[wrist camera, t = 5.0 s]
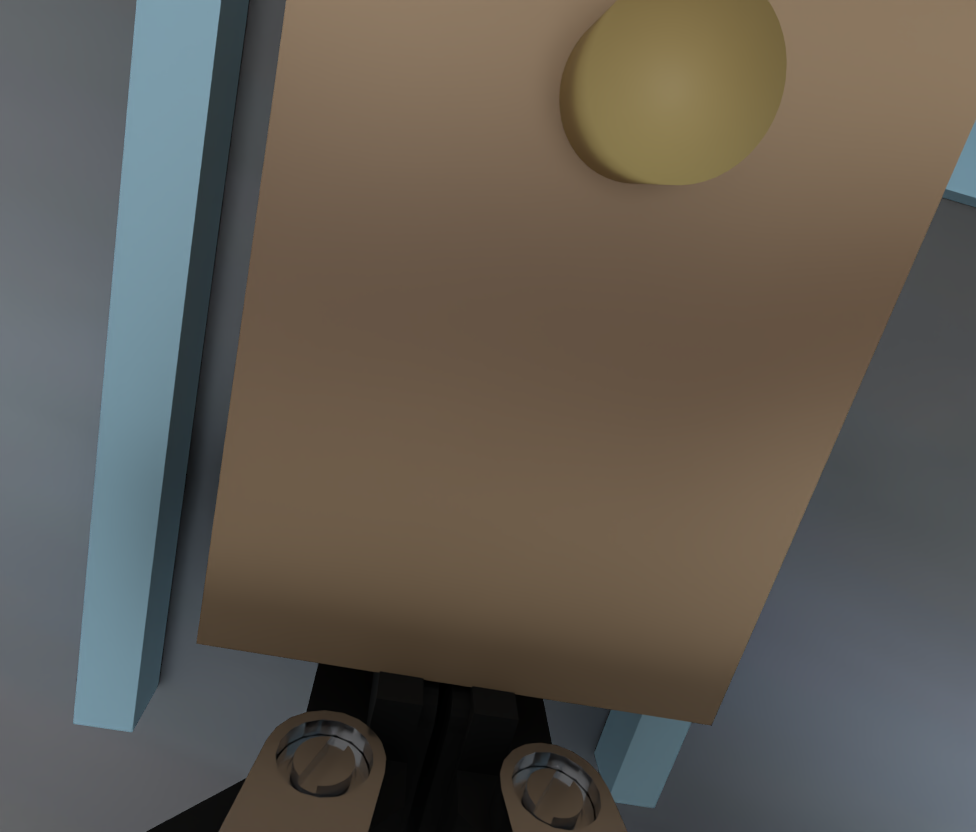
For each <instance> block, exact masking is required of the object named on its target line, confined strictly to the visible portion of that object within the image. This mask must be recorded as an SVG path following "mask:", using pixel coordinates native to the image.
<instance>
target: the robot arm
mask: <svg viewBox="0 0 976 832" xmlns="http://www.w3.org/2000/svg"><path fill="white" fill-rule="evenodd" d="M147 832H627V829H626V827H625V825H624V823H623V820H622V818H621V816H620V813H619V811H618V809H617V806H616V804H615V802H614V800H613V797H612V795H611V793H610V790H609V788H608V787H607V785H606V783H605V782H604V780H603V778H602V777H601V775H600V774H599V773H598V772H597V771H596V770H595V769H594V768H593V767H592V766H591V765H590V764H589V763H588V762H587V761H586V760H584V759H583V758H581V757H580V756H578V755H577V754H575V753H574V752H572V751H570V750H567V749H565V748H562V747H560V746H557V745H552V742H551V737H550V732H549V727H548V722H547V717H546V712H545V707H544V702H543V699H542V698H535V697H529V696H523V695H517V694H515V693H513V692H507V691H500V690H494V689H488V688H482V687H476V686H472V687H466V686H460V685H454V684H447V683H441V682H435V681H429V680H424V678H419V677H413V676H407V675H401V674H394V673H388V672H382V671H380V672H379V673H378V672H372V671H366V670H359V669H353V668H347V667H341V666H334V665H328V664H322V663H319V664H318V668H317V672H316V676H315V680H314V684H313V688H312V692H311V696H310V700H309V704H308V708H307V712H305V713H303V714H300V715H297V716H294V717H291V718H289V719H288V720H286V721H285V722H283V723H282V724H280V725H279V726H277V727H276V728H275V730H274V731H273V732H272V733H271V735H270V736H269V737H268V739H267V740H266V742H265V744H264V745H263V747H262V749H261V751H260V753H259V755H258V757H257V759H256V761H255V763H254V765H253V767H252V768H251V770H250V772H249V774H248V776H247V778H246V779H244V780H242V781H240V782H238V783H236V784H234V785H233V786H231V787H229V788H227V789H225V790H223V791H221V792H219V793H218V794H216V795H214V796H212V797H210V798H208V799H206V800H205V801H203V802H201V803H199V804H197V805H195V806H193V807H191V808H190V809H188V810H186V811H184V812H182V813H180V814H178V815H177V816H175V817H173V818H171V819H169V820H167V821H165V822H163V823H162V824H160V825H158V826H156V827H154V828H152V829H150V830H149V831H147Z"/></svg>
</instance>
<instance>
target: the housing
mask: <svg viewBox="0 0 976 832" xmlns="http://www.w3.org/2000/svg"><path fill="white" fill-rule="evenodd" d="M975 120H976V0H286V6H285V14H284V21H283V28H282V35H281V42H280V49H279V56H278V64H277V71H276V78H275V85H274V92H273V99H272V107H271V114H270V121H269V128H268V135H267V142H266V149H265V157H264V164H263V171H262V178H261V185H260V192H259V200H258V207H257V214H256V221H255V228H254V235H253V242H252V250H251V257H250V264H249V271H248V278H247V285H246V293H245V300H244V307H243V314H242V321H241V328H240V335H239V343H238V350H237V357H236V364H235V371H234V378H233V386H232V393H231V400H230V407H229V414H228V421H227V428H226V436H225V443H224V450H223V457H222V464H221V471H220V479H219V486H218V493H217V500H216V507H215V514H214V521H213V529H212V536H211V543H210V550H209V557H208V564H207V572H206V579H205V586H204V593H203V600H202V607H201V614H200V622H199V629H198V636H197V643H196V644H202V645H209V646H215V647H221V648H227V649H234V650H240V651H246V652H253V653H259V654H265V655H271V656H278V657H284V658H290V659H297V660H303V661H309V662H315V663H322V664H328V665H334V666H341V667H347V668H353V669H359V670H366V671H372V672H378V673H379V672H380V671H382V672H388V673H394V674H401V675H407V676H413V677H419V678H424V680H429V681H435V682H441V683H447V684H454V685H460V686H466V687H472V686H476V687H482V688H488V689H494V690H500V691H507V692H513V693H515V694H517V695H523V696H529V697H535V698H542V699H548V700H554V701H561V702H567V703H573V704H579V705H586V706H592V707H598V708H605V709H611V710H617V711H623V712H630V713H636V714H642V715H649V716H655V717H661V718H667V719H674V720H680V721H686V722H693V723H699V724H705V725H711V726H712V723H713V721H714V719H715V716H716V714H717V712H718V710H719V707H720V705H721V703H722V700H723V698H724V696H725V693H726V691H727V689H728V687H729V684H730V682H731V680H732V677H733V675H734V673H735V671H736V668H737V666H738V664H739V661H740V659H741V657H742V654H743V652H744V650H745V648H746V645H747V643H748V641H749V638H750V636H751V634H752V632H753V629H754V627H755V625H756V622H757V620H758V618H759V616H760V613H761V611H762V609H763V606H764V604H765V602H766V599H767V597H768V595H769V593H770V590H771V588H772V586H773V583H774V581H775V579H776V577H777V574H778V572H779V570H780V567H781V565H782V563H783V560H784V558H785V556H786V554H787V551H788V549H789V547H790V544H791V542H792V540H793V538H794V535H795V533H796V531H797V528H798V526H799V524H800V522H801V519H802V517H803V515H804V512H805V510H806V508H807V505H808V503H809V501H810V499H811V496H812V494H813V492H814V489H815V487H816V485H817V483H818V480H819V478H820V476H821V473H822V471H823V469H824V466H825V464H826V462H827V460H828V457H829V455H830V453H831V450H832V448H833V446H834V444H835V441H836V439H837V437H838V434H839V432H840V430H841V427H842V425H843V423H844V421H845V418H846V416H847V414H848V411H849V409H850V407H851V405H852V402H853V400H854V398H855V395H856V393H857V391H858V389H859V386H860V384H861V382H862V379H863V377H864V375H865V372H866V370H867V368H868V366H869V363H870V361H871V359H872V356H873V354H874V352H875V350H876V347H877V345H878V343H879V340H880V338H881V336H882V333H883V331H884V329H885V327H886V324H887V322H888V320H889V317H890V315H891V313H892V311H893V308H894V306H895V304H896V301H897V299H898V297H899V295H900V292H901V290H902V288H903V285H904V283H905V281H906V278H907V276H908V274H909V272H910V269H911V267H912V265H913V262H914V260H915V258H916V256H917V253H918V251H919V249H920V246H921V244H922V242H923V239H924V237H925V235H926V233H927V230H928V228H929V226H930V223H931V221H932V219H933V217H934V214H935V212H936V210H937V207H938V205H939V203H940V200H941V198H942V196H943V194H944V191H945V189H946V187H947V184H948V182H949V180H950V178H951V175H952V173H953V171H954V168H955V166H956V164H957V162H958V159H959V157H960V155H961V152H962V150H963V148H964V145H965V143H966V141H967V139H968V136H969V134H970V132H971V129H972V127H973V125H974V123H975Z"/></svg>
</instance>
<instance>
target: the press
mask: <svg viewBox="0 0 976 832" xmlns="http://www.w3.org/2000/svg"><path fill="white" fill-rule="evenodd" d="M248 5H249V0H137V4H136V15H135V27H134V38H133V49H132V61H131V72H130V84H129V95H128V106H127V118H126V129H125V140H124V152H123V163H122V175H121V186H120V197H119V209H118V220H117V231H116V243H115V254H114V265H113V277H112V288H111V300H110V311H109V322H108V334H107V345H106V356H105V368H104V379H103V391H102V402H101V413H100V425H99V436H98V447H97V459H96V470H95V482H94V493H93V504H92V516H91V527H90V538H89V550H88V561H87V572H86V584H85V595H84V607H83V618H82V629H81V641H80V652H79V663H78V675H77V686H76V698H75V709H74V720H73V724H79V725H85V726H92V727H99V728H106V729H113V730H120V731H127V732H133V730H134V728H135V726H136V725H137V723H138V721H139V719H140V717H141V715H142V714H143V712H144V710H145V708H146V706H147V705H148V703H149V701H150V699H151V697H152V696H153V694H154V692H155V690H156V688H157V687H158V683H159V675H160V668H161V660H162V653H163V645H164V638H165V630H166V623H167V615H168V608H169V600H170V593H171V585H172V577H173V570H174V562H175V555H176V547H177V540H178V532H179V525H180V517H181V510H182V502H183V495H184V487H185V479H186V472H187V464H188V457H189V449H190V442H191V434H192V427H193V419H194V412H195V404H196V397H197V389H198V381H199V374H200V366H201V359H202V351H203V344H204V336H205V329H206V321H207V314H208V306H209V299H210V291H211V283H212V276H213V268H214V261H215V253H216V246H217V238H218V231H219V223H220V216H221V208H222V201H223V193H224V186H225V178H226V170H227V163H228V155H229V148H230V140H231V133H232V125H233V118H234V110H235V103H236V95H237V88H238V80H239V72H240V65H241V57H242V50H243V42H244V35H245V27H246V20H247V12H248ZM942 197H943V198H946V199H950V200H953V201H956V202H960V203H963V204H966V205H970V206H973V207H976V120H975V123H974V125H973V127H972V129H971V132H970V134H969V136H968V139H967V141H966V143H965V145H964V148H963V150H962V152H961V155H960V157H959V159H958V162H957V164H956V166H955V168H954V171H953V173H952V175H951V178H950V180H949V182H948V184H947V187H946V189H945V191H944V194H943V196H942ZM691 723H692V722H686V721H680V720H674V719H667V718H661V717H655V716H649V715H642V714H636V713H630V712H623V711H617V710H611V711H610V714H609V716H608V719H607V721H606V724H605V727H604V729H603V732H602V734H601V737H600V740H599V742H598V745H597V747H596V750H595V752H594V754H595V758H596V762H597V766H598V769H599V773H600V775H601V777H602V778H603V780H604V782H605V783H606V785H607V787H608V788H609V790H610V793H611V795H612V797H613V800H614V802H615V803H622V804H629V805H636V806H643V807H649V808H655V806H656V803H657V801H658V799H659V796H660V794H661V792H662V789H663V787H664V785H665V783H666V780H667V778H668V776H669V773H670V771H671V769H672V766H673V764H674V762H675V759H676V757H677V755H678V753H679V750H680V748H681V746H682V743H683V741H684V739H685V736H686V734H687V732H688V730H689V727H690V725H691Z"/></svg>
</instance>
